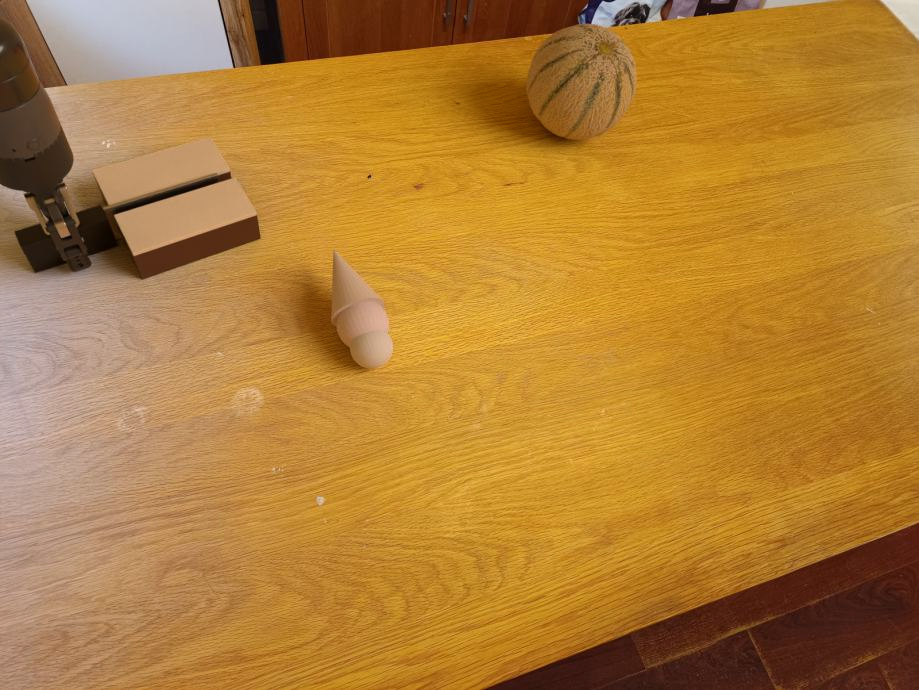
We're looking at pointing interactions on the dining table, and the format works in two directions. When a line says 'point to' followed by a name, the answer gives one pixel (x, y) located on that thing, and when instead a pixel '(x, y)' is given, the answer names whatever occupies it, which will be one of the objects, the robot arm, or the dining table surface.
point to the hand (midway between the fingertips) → (72, 248)
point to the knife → (96, 225)
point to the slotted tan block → (178, 207)
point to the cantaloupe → (581, 81)
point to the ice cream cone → (359, 316)
